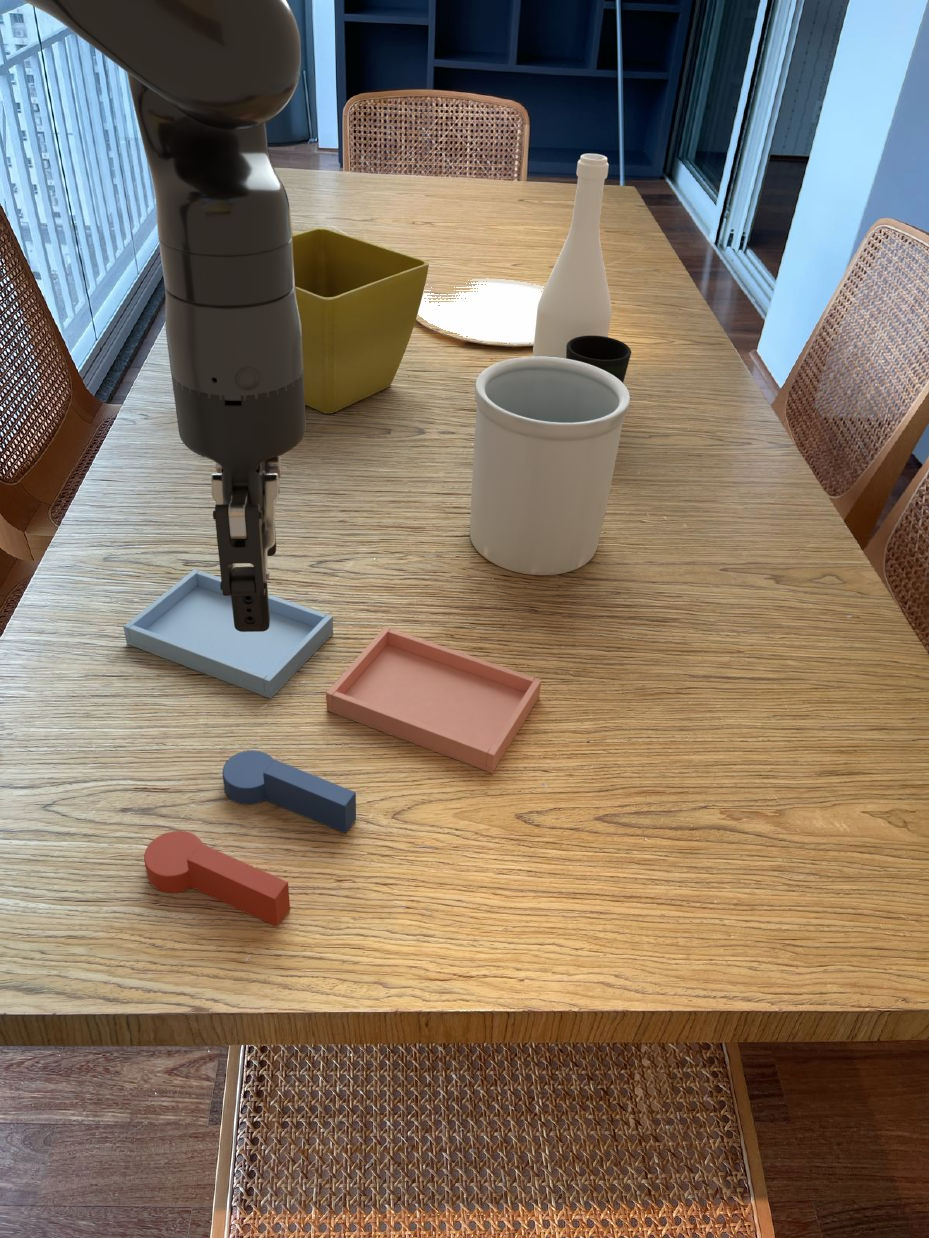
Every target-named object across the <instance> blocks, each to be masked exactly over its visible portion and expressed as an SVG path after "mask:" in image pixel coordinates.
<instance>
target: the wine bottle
mask: <svg viewBox="0 0 929 1238" xmlns="http://www.w3.org/2000/svg"><path fill="white" fill-rule="evenodd" d="M609 166H610V164H609V163H608V157H607V156H605V155H603V154H599V153H583V154H581V155H580V158H579V159H578V161H577V166H576V173H575V174H576V176H577V182H576V188H575V196H574V203H573V210H572V216H571V224H570V228H569V230H568V234H567V237H566V238H565V241H564V244H563V246H562V248H561V250H560V253H559V255H558V257H557V259H556V261H555V264H554V266H553V268H552V271H551V273H550V275H549V277H548V278H547V281H546V283H545V284H546V286H545V288H544V290H543V293H542V295H541V298H540V300H539V303H538V308H537V318H536V327H535V337H534V346H532V347H533V348H532V356H531V357H534V356H542V357H557V358H565V359H566V346H567V343H568V342H569V341H570V340H571V339H574V338H576V337H580V336H588V335H590V336H604V337H609V333H610V327H611V320H612V314H613V312H612V302H611V295H610V291H609V284H608V279H607V274H606V273H607V272H606V267H605V261H604V256H603V251H602V244H601V235H600V233H601V232H600V225H601V217H602V207H603V198H604V189H605V180H606V179H607V178H608V174H609Z"/></svg>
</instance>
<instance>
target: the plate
mask: <svg viewBox="0 0 929 1238" xmlns="http://www.w3.org/2000/svg"><path fill="white" fill-rule="evenodd" d="M468 281H469V280H468ZM470 281H478V282H476V283H475V282H473V283H472V282H471V284H477V285H475V286H473V285H472V287H471V286H469V287H468V286H467V287H456V288H473V289H470V290H456V291H473V292H466V293H464V292H462V293H461V292H459V294H458V293H456V294H448V295H455V297H453V296H452V297H442V298H456V299H451V300H450V299H448V300H446V299H444V300H442V299H440V300H438V299H436V300H433V299H431V300H429V299H428V298H437V297H436V296H435V297H432V296H427V295H439V294H434V293H431V294H430V293H424V292H423V296H422V300H421V304H420V307H419V311H418V315H419V316H420V317H422V318H423V319H424V320H426V321H427V322H428V323H430V324H433V325H435V326H437V327H439V328H441V329H443V330H446V331H450V332H453V333H457V334H460V335H459V336H463V338H467V339H476V340H478V341H483V342H500V343H501V342H502V343H507V344H509V343H510V344H513V345H504V344H488V343H482V342H476V341H470V340H464V339H460V338H457V337H453V336H450V335H447V334H443V333H440V332H438V331H436V330H434V329H432V328H429V327H427V326H425V325H423V324H422V323H421V322H419V321H418V320H417V319H416V322H418V323H419V324H420V325H422V326H423V327H424V328H426V329H429V330H431V331H433V332H435V333H437V334H439V335H441V336H445V337H449V338H453V339H456V340H459V341H461V342H467V343H473V344H479V345H484V346H485V345H486V346H495V347H512V348H519V347H533V346H534V337H535V327H536V318H537V308H538V303H539V300H540V298H541V295H542V293H543V290H544V289H543V288H545V287H544V286H540V285H536V284H533V285H531V284H532V283H527V282H520V281H514V280H505V279H489V278H486V279H472V280H470ZM483 281H484V282H483ZM486 281H487V282H486ZM466 284H467V283H466ZM469 284H470V283H469ZM478 284H479V285H478ZM481 284H483V285H481ZM485 284H486V285H485ZM431 288H432V287H431ZM454 288H455V287H454ZM474 288H476V289H474ZM477 288H478V289H477ZM424 291H431V290H424ZM454 291H455V290H454ZM474 291H476V292H474ZM477 291H478V292H477ZM541 291H542V292H541ZM440 295H447V294H440ZM456 295H458V296H457V297H456ZM459 295H460V296H459ZM424 298H426V299H424ZM438 298H441V296H440V297H438ZM457 298H459V299H457ZM461 298H462V299H461ZM465 298H466V299H465ZM425 301H426V302H425ZM429 301H454V302H439V303H438V302H435V303H434V302H431V303H429ZM455 301H456V302H455ZM438 305H440V306H438ZM466 336H468V337H466ZM529 343H531V344H530V345H517V344H529Z"/></svg>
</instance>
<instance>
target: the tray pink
mask: <svg viewBox="0 0 929 1238" xmlns="http://www.w3.org/2000/svg"><path fill="white" fill-rule="evenodd" d="M542 680H543V679H540V678H537V677H534V676H531V675H529V674H525V673H522V672H519V671H516V670H514V669H510V668H508V667H504V666H502V665H499V664H496V663H493V662H490V661H487V660H484V659H481V658H478V657H475V656H472V655H469V654H467V653H463V652H461V651H459V650H455V649H452V648H449V647H446V646H443V645H441V644H438V643H434V642H431V641H429V640H425V639H423V638H420V637H417V636H415V635H411V634H408V633H405V632H402V631H401V630H400V631H399V630H396V629H393V628H390V627H387V626H384V627H383V628H382V629H381V630H380V631H379V633H378V634H377V635H376V636H375V637H374V639H372V640H371V641H370V643H369V644H368V645H367V646H366V647H365V648H364V649H363V650H362V652H361V653H359V655H358V656H357V657H356V658H355V660H354V661H353V662H352V663H350V665H349V666H348V667H347V669H346V670H345V671H344V672H343V673H342V674H341V675H340V676H339V677H338V679H337V680H336V681H335V682H334V683H333V685H331V686H330V688H329V689H328V690H327V691H326V692H325V701H326V711H327V712H330V713H332V714H335V715H337V716H340V717H343V718H345V719H348V720H350V721H354V722H356V723H359V724H361V725H364V726H367V727H369V728H371V729H375V730H378V731H380V732H381V733H385V734H388V735H391V736H392V737H395V738H398V739H401V740H403V741H407V742H408V743H412V744H413V745H417V746H419V747H422V748H425V749H427V750H430V751H432V752H435V753H439V754H440V755H443V756H446V757H449V758H452V759H454V760H456V761H459V762H462V763H465V764H467V765H469V766H473V767H475V768H478V769H480V770H483V771H484V772H485V771H486V772H488V773H491V774H492V773H494V772H495V770H496V768H497V767H498V764H499V763H500V762H501V760H502V758H503V757H504V755H505V753H506V752H507V751H508V748H509V747H510V745H511V744H512V742H513V740H514V739H515V737H516V736H517V734H518V732H519V731H520V729H521V728H522V726H523V724H524V723H525V721H526V719H527V718H528V716H529V714H530V713H531V711H532V709H533V708H534V706H535V705H536V703H537V702H538V700H539V698H540V695H541V694H540V693H541V688H542V687H541V686H542Z"/></svg>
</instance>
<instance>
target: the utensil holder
mask: <svg viewBox="0 0 929 1238" xmlns="http://www.w3.org/2000/svg"><path fill="white" fill-rule="evenodd" d="M474 399H475V403H476V411H475V412H476V413H475V425H474V439H473V440H474V441H473V443H474V444H473V458H472V474H471V490H470V515H469V516H470V520H469V536H470V537H469V538H470V542H471V544H472V546H473V547H474V549H475V550H476V551H477V552H478V553H479V554H480V555H481V556H482V557H483V558H484V559H486V560H487V561H489V562H490V563H492V564H494V565H495V566H497V567H500V568H503V569H505V570H508V571H511V572H515V573H517V574H524V575H530V576H555V575H561V574H567V573H569V572H572V571H575V570H578V569H580V568H581V567H583V566H585V565H586V564H588V563H589V562H590V561H591V560H592V558H594V556H595V554H596V551H597V549H598V545H599V542H600V538H601V533H602V529H603V525H604V522H605V521H604V520H605V517H606V511H607V506H608V502H609V496H610V491H611V487H612V482H613V477H614V471H615V466H616V461H617V456H618V449H619V445H620V440H621V436H622V435H621V434H622V430H623V423H624V420H625V419H626V417H627V414H628V413H629V409H630V404H631V395H630V391H629V390H628V388H627V386H626V385H625V384H624V382H623V383H622V382H621V381H620V380H619V379H618V378H616V377H615V376H613V375H612V374H610V373H608V372H606V371H604V370H602V369H600V368H598V367H595V366H593V365H590V364H587V363H583V362H580V361H576V360H571V359H565V358H557V357H542V356H534V357H532V356H521V357H515V358H509V359H504V360H501V361H499V362H496V363H494V364H492V365H490V366H488V367H486V368H484V370H482V371H481V372H480V373H479V375H478V376H477V377H476V379H475V386H474Z"/></svg>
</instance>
